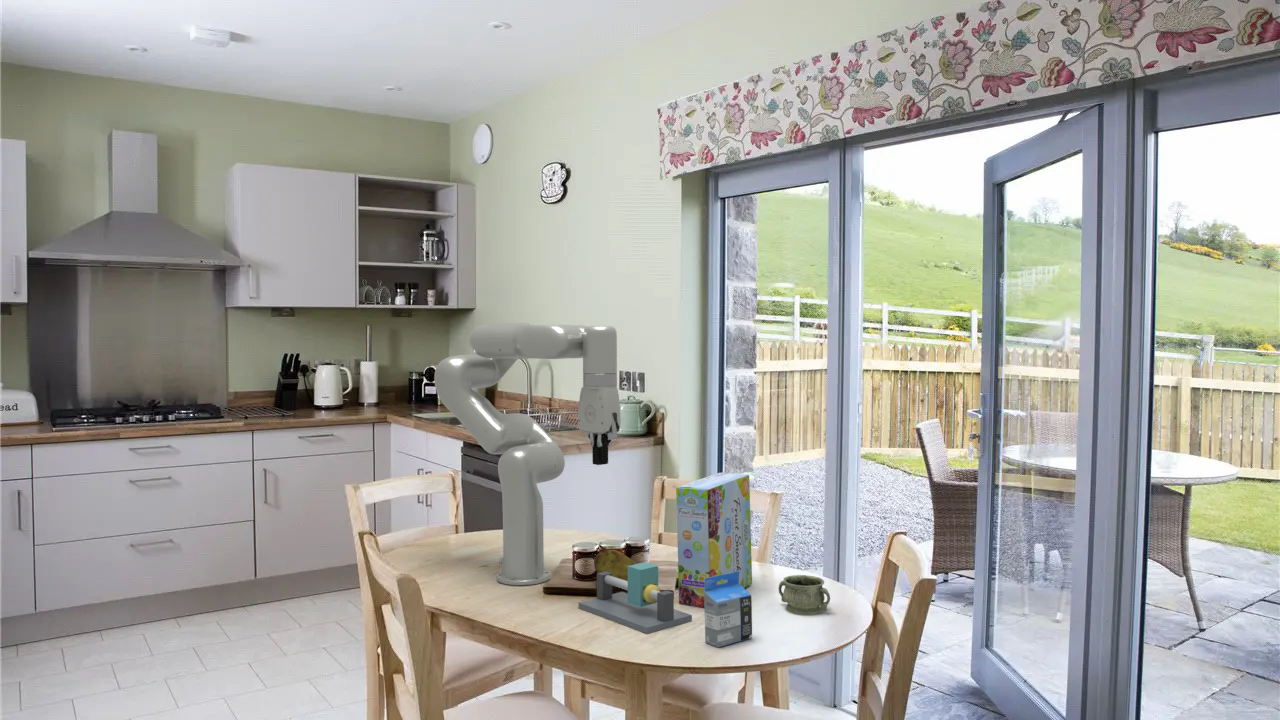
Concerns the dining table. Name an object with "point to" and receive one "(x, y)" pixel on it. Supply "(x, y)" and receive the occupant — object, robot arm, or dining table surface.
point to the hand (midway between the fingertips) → (600, 463)
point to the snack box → (713, 533)
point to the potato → (613, 563)
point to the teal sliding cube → (640, 582)
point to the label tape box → (726, 610)
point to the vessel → (804, 594)
